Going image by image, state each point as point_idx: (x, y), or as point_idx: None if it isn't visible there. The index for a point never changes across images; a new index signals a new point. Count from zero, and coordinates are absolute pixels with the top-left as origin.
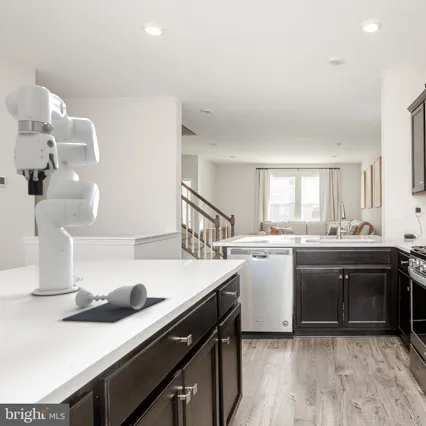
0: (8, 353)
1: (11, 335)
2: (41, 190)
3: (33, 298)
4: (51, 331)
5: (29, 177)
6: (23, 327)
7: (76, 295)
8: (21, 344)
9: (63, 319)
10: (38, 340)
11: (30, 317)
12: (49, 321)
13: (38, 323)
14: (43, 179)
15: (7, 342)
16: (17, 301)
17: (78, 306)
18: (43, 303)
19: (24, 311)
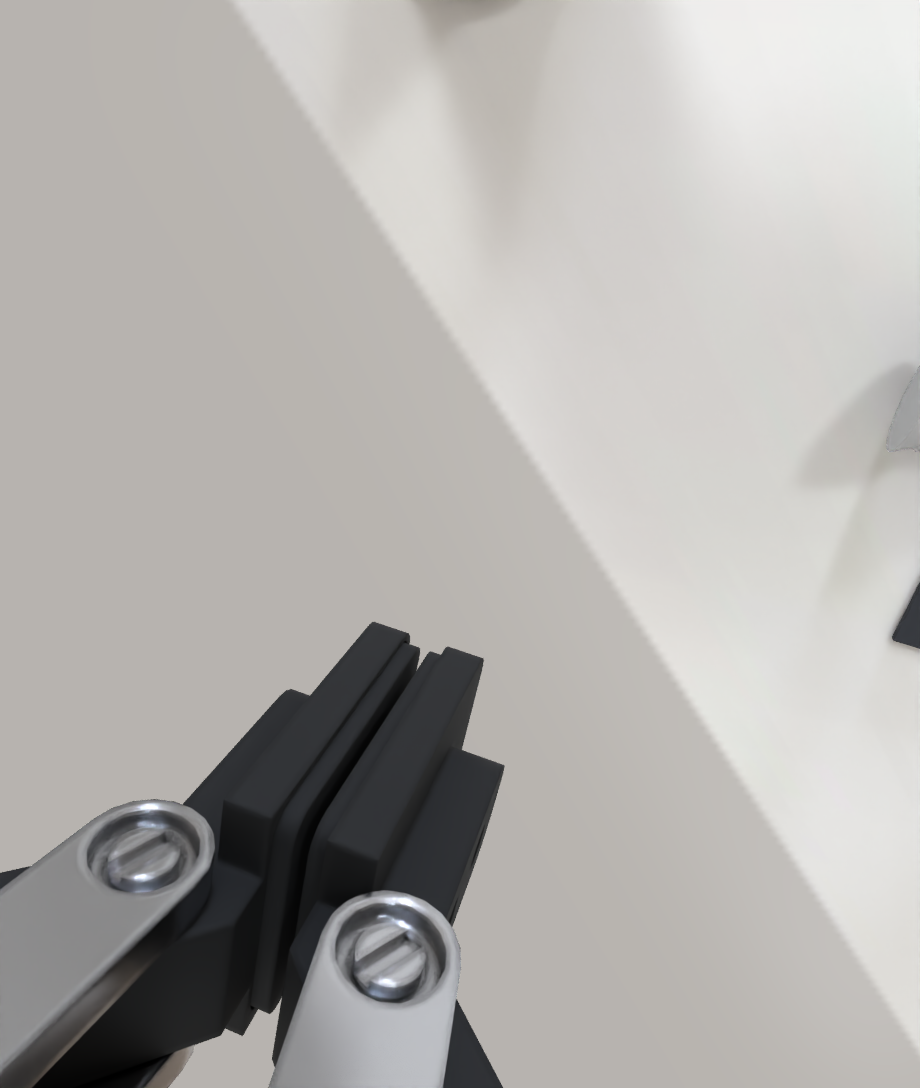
0: (866, 957)
1: (767, 789)
2: (492, 797)
3: (454, 87)
4: (912, 782)
5: (161, 1085)
6: (757, 700)
7: (898, 448)
8: (864, 892)
9: (899, 641)
10: (908, 870)
11: (699, 550)
12: (831, 637)
13: (793, 657)
14: (462, 1032)
15: (799, 859)
16: (410, 173)
17: (893, 424)
18: (600, 246)
19: (600, 428)
